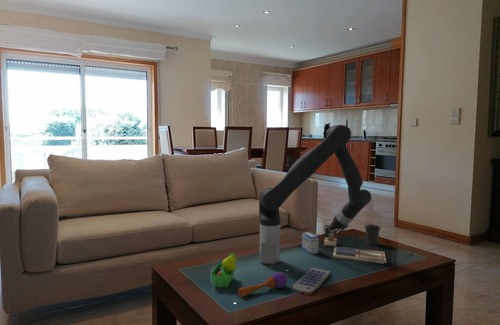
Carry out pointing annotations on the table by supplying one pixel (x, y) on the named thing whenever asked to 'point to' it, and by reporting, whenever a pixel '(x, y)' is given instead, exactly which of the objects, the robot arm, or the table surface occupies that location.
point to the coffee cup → (372, 234)
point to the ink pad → (345, 251)
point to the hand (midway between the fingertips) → (328, 235)
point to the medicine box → (310, 243)
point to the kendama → (265, 284)
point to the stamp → (330, 240)
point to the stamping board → (364, 256)
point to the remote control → (311, 280)
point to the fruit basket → (224, 272)
